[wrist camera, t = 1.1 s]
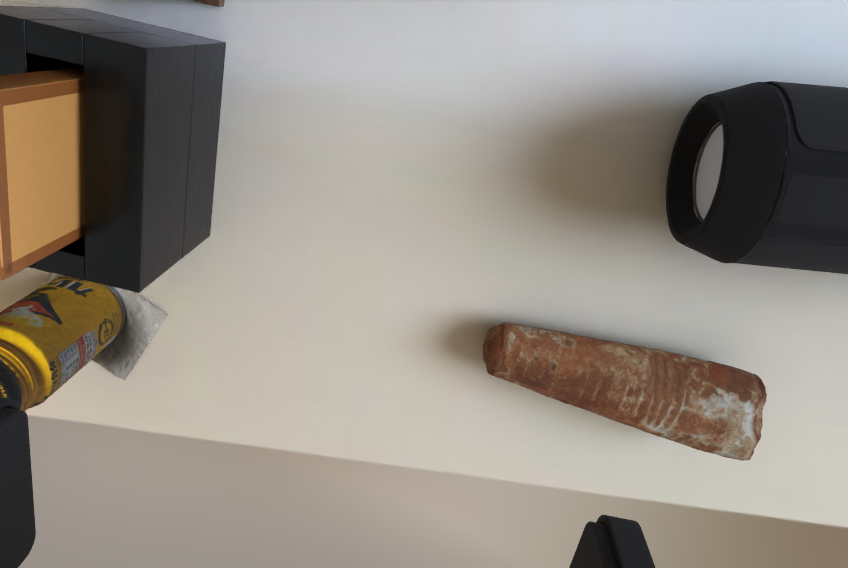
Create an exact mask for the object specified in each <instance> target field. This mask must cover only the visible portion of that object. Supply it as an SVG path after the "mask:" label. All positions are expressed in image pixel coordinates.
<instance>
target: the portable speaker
mask: <svg viewBox="0 0 848 568" xmlns="http://www.w3.org/2000/svg"><path fill="white" fill-rule="evenodd" d="M666 210H667V218H668V225H669V228H670V231H671V233H672V235H673V237H674V238H675V239H676V240H677V241H678V242H680V243H681V244H683V245H685V246H687V247H689V248H691V249H694V250H696V251H698V252H700V253H702V254H704V255H706V256H708V257H710V258H712V259H715V260H717V261H720V262H722V263H740V264H750V265H760V266H770V267H781V268H791V269H801V270H811V271H821V272H832V273H842V274H848V88H842V87H831V86H819V85H808V84H797V83H785V82H774V81H772V82H756V83H751V84H747V85H743V86H740V87H736V88H732V89H728V90H725V91H721V92H717V93H713V94H709V95H706V96H704V97H702V98H701V99H700V100H698V101H697V102H696V103H695V104H694V106H693V107H692V108H691V110H690V111H689V113H688V114H687V116H686V118H685V120H684V122H683V124H682V126H681V129H680V131H679V133H678V136H677V139H676V142H675V145H674V148H673V152H672V156H671V161H670V166H669V171H668V178H667V189H666Z"/></svg>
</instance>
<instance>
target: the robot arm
mask: <svg viewBox="0 0 848 568" xmlns="http://www.w3.org/2000/svg"><path fill="white" fill-rule="evenodd" d="M35 533H36V531H35V517H34V502H33V489H32V474H31V459H30V444H29V429H28V418H27V414H26V413H25V411H22V410H20V407H19V404H18V403H17V401H16V400H13V399H9V398H4V397H0V568H18V567H19V566H20V564H21V563H22V562H23V561H24V559H25V558H26V557H27V555H28V554H29V552H30V550H31V548H32V546H33V544H34V540H35ZM570 568H655V565H654V563H653V560H652V557H651V555H650V552H649V549H648V546H647V543H646V540H645V538H644V535H643V532H642V529H641V527H640V525H639V524H638V523H637V522H636V521H633V520H627V519H622V518H617V517H612V516H607V515H601V516H600V517H599V518H598V520H597V522H596V523H594V522H588V523H587V524H586V526H585V528H584V531H583V534H582V536H581V539H580V542H579V544H578V547H577V549H576V552H575V555H574V557H573V560H572V562H571V565H570Z"/></svg>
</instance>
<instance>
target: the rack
mask: <svg viewBox="0 0 848 568" xmlns="http://www.w3.org/2000/svg"><path fill="white" fill-rule="evenodd" d="M194 1H198V2H202V3H207V4H211V5H215V6H221V7H223V6H224V0H194Z"/></svg>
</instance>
